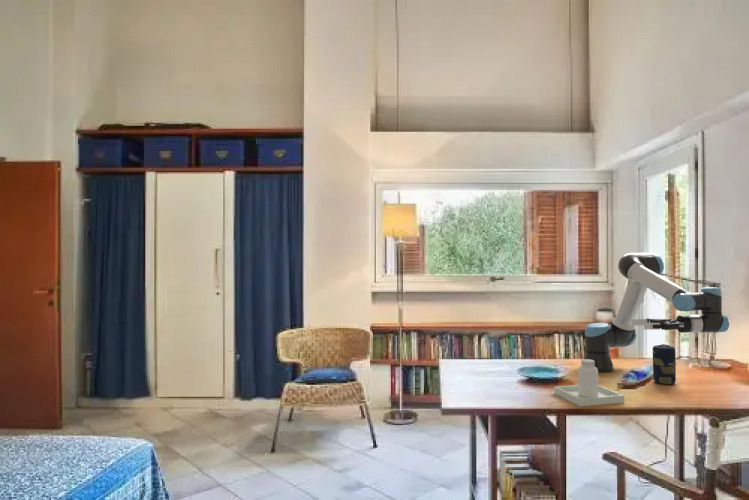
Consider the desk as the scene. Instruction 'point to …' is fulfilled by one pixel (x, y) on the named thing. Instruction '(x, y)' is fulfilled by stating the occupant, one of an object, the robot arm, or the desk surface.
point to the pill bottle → (588, 379)
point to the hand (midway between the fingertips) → (637, 324)
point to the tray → (603, 397)
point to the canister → (664, 364)
